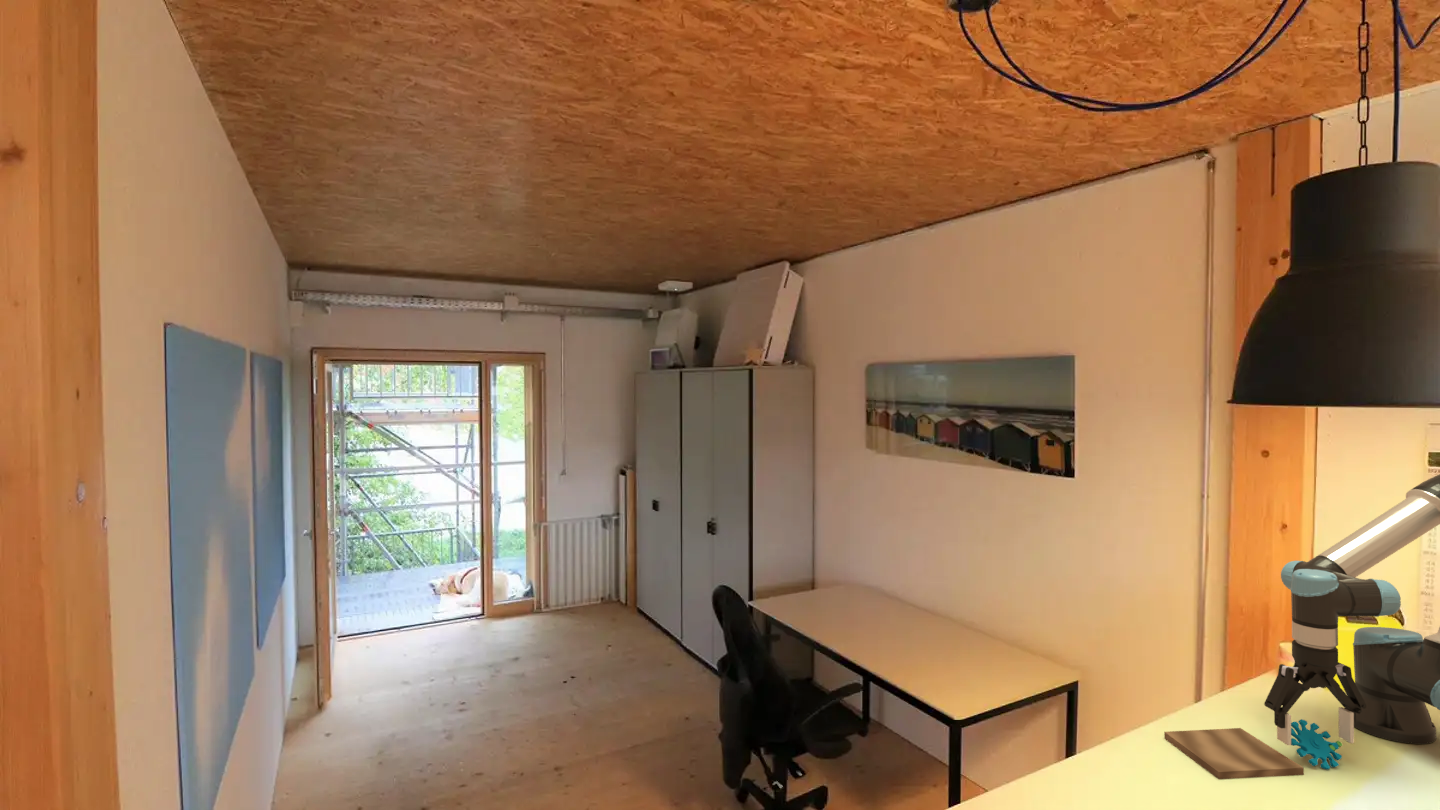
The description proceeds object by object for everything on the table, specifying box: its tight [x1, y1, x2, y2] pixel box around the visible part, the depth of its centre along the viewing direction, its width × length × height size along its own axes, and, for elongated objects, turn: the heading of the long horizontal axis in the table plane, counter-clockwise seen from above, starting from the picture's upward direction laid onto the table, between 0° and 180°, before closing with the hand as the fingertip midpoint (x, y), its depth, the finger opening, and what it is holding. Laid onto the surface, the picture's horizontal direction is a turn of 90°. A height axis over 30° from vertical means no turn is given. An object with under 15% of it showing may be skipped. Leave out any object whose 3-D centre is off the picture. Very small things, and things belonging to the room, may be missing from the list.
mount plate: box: [1164, 727, 1305, 780], centre depth 151 cm, size 18×17×2 cm
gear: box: [1290, 718, 1343, 771], centre depth 149 cm, size 11×6×10 cm
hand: (1315, 741), depth 148 cm, fingers open, 13 cm apart
